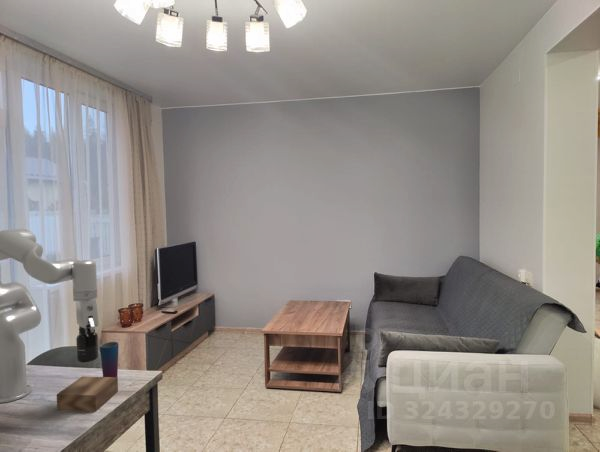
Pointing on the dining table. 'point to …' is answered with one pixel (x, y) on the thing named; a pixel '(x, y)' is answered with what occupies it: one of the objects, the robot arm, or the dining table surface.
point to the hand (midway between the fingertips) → (87, 343)
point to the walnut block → (87, 394)
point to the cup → (109, 359)
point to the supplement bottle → (82, 351)
